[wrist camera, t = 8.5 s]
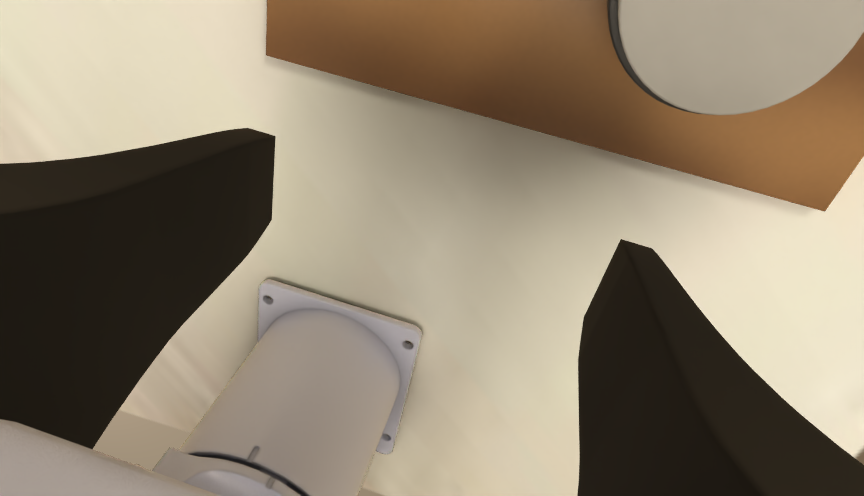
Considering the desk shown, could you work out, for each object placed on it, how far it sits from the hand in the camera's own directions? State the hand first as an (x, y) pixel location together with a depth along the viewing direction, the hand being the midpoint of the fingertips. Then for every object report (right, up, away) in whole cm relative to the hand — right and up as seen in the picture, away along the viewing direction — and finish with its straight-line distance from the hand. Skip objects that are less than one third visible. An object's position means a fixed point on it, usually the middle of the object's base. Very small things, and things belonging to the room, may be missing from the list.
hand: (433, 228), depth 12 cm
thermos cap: (+7, +8, +4) cm, 12 cm away
